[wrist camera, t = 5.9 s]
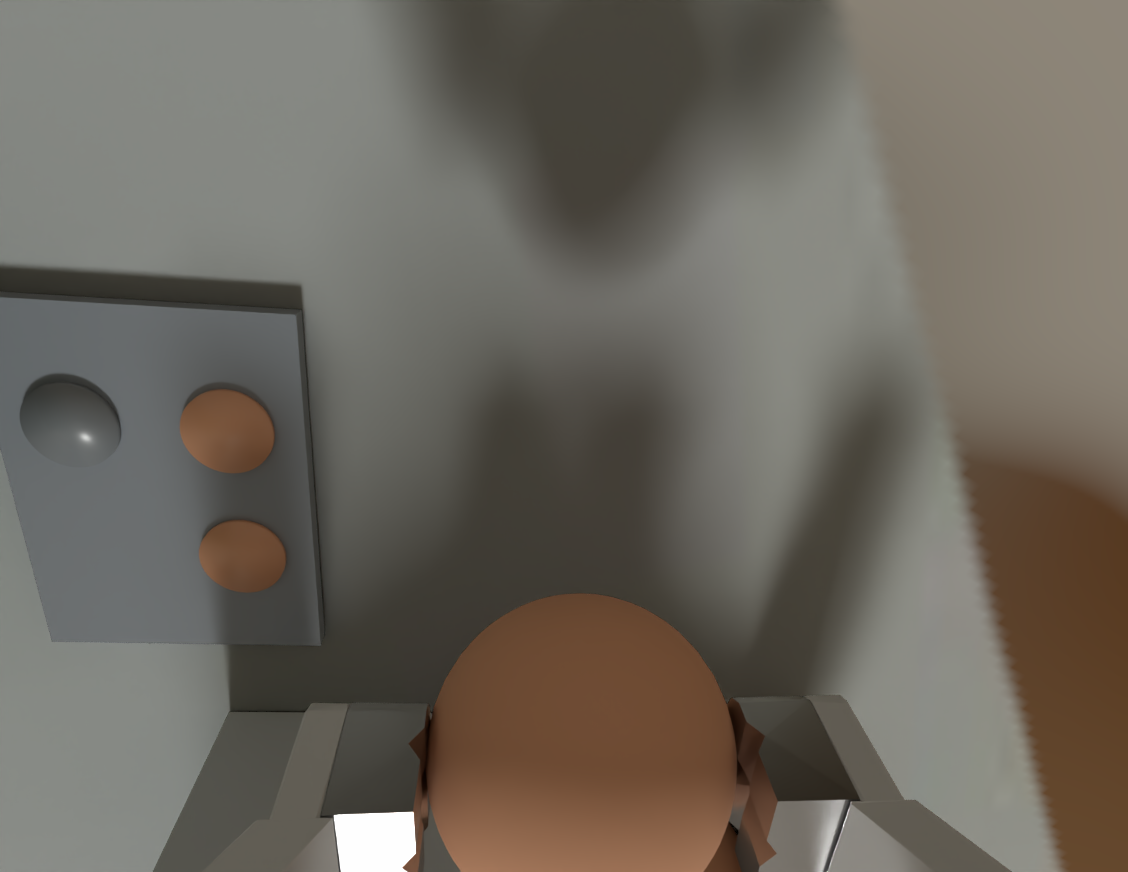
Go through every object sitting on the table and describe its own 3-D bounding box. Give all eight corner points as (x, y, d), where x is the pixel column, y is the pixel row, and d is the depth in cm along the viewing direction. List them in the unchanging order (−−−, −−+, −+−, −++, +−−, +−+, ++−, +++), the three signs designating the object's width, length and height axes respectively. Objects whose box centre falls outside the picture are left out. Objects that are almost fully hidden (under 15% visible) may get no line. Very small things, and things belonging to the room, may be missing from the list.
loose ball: (437, 535, 10) (397, 777, 6) (711, 537, 10) (819, 769, 7) (442, 737, 12) (412, 1018, 8) (678, 733, 12) (750, 1003, 8)
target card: (-25, 290, 13) (-47, 296, 13) (301, 309, 14) (294, 316, 13) (62, 629, 17) (47, 645, 16) (325, 634, 17) (319, 649, 17)
